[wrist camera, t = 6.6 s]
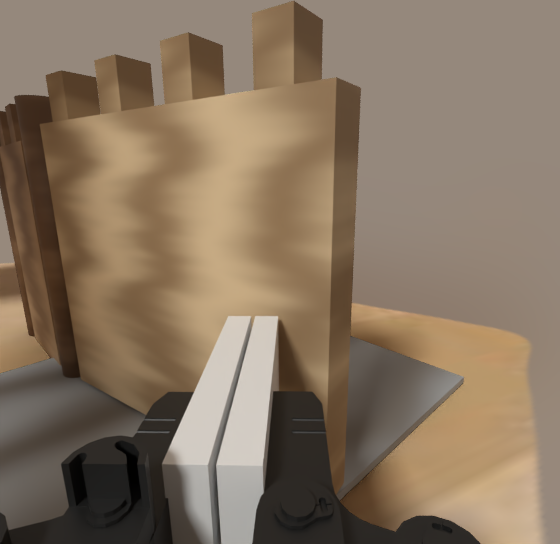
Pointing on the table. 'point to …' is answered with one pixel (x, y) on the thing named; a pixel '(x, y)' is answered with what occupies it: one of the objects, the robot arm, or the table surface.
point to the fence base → (108, 410)
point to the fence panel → (209, 213)
